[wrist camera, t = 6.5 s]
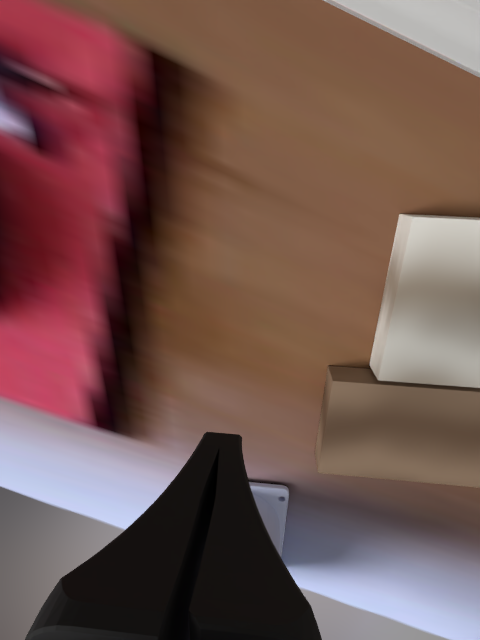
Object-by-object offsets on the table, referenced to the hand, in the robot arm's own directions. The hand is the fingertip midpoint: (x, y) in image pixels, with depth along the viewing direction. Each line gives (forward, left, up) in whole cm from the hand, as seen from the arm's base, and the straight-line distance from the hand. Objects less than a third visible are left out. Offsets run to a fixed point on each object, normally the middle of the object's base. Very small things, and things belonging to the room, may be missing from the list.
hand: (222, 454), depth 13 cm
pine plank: (+4, -13, -9) cm, 17 cm away
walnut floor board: (-4, -14, -9) cm, 17 cm away
